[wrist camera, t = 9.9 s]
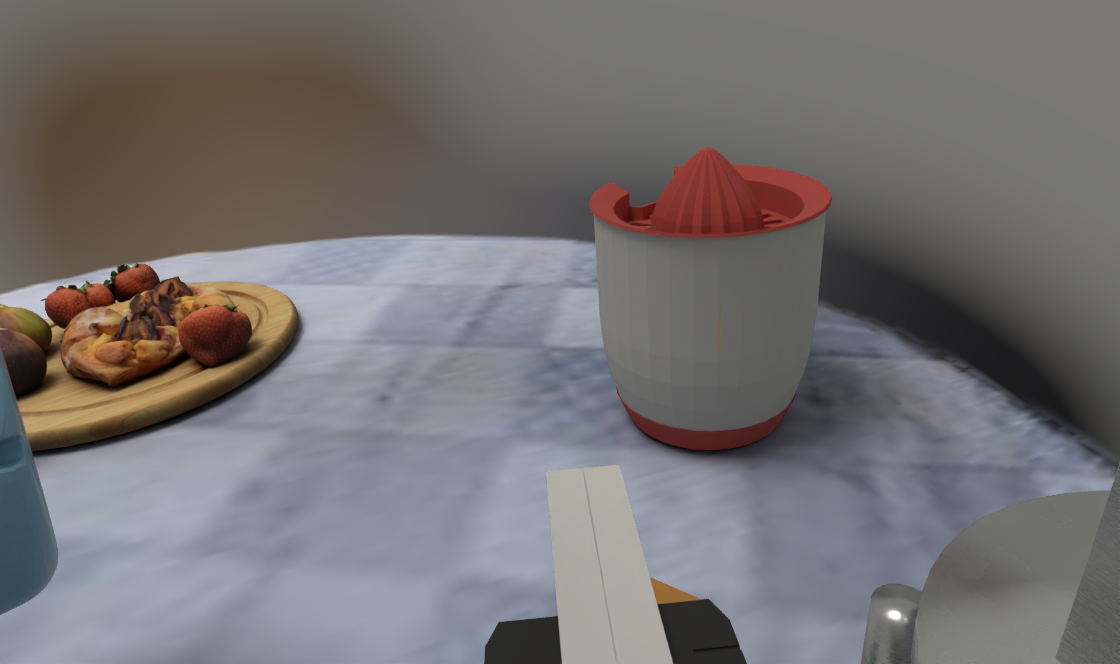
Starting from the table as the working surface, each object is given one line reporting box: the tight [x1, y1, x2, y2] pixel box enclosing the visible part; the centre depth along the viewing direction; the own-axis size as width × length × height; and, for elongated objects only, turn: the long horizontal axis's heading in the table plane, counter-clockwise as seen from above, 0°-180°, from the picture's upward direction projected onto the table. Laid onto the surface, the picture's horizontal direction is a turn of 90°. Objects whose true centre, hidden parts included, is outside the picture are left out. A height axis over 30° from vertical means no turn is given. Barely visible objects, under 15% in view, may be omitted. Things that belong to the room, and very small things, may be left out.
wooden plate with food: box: [0, 263, 299, 451], centre depth 70 cm, size 32×32×8 cm
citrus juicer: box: [589, 147, 832, 451], centre depth 52 cm, size 16×17×20 cm
